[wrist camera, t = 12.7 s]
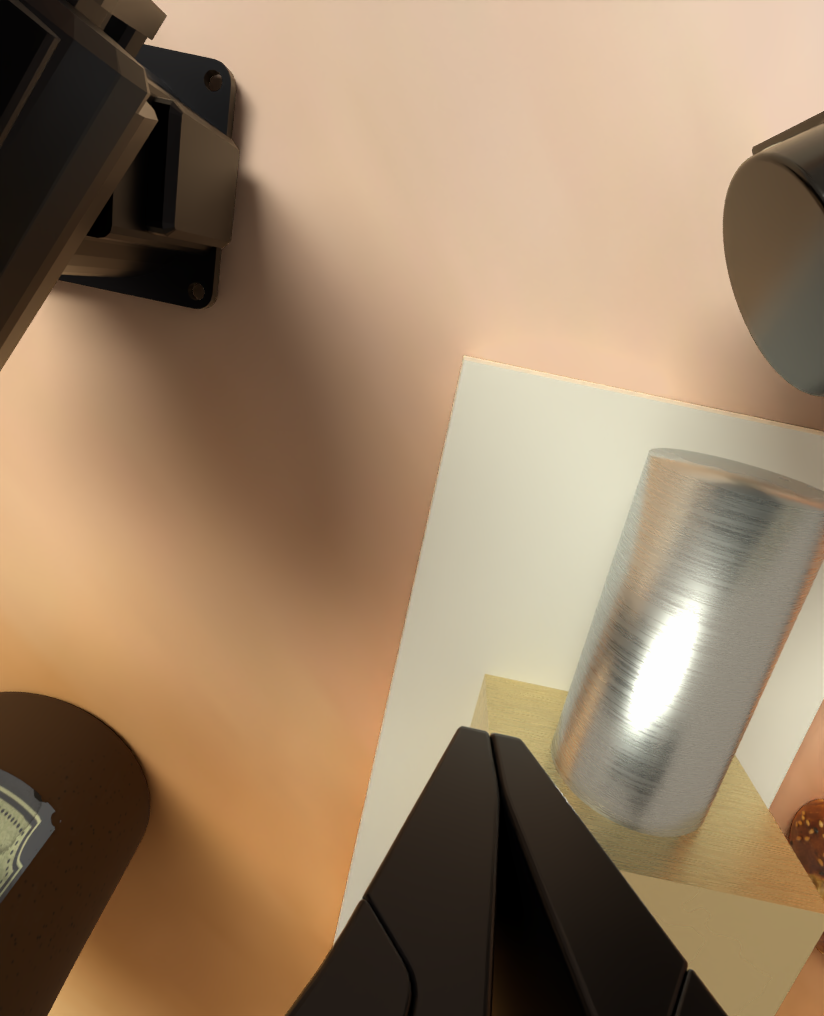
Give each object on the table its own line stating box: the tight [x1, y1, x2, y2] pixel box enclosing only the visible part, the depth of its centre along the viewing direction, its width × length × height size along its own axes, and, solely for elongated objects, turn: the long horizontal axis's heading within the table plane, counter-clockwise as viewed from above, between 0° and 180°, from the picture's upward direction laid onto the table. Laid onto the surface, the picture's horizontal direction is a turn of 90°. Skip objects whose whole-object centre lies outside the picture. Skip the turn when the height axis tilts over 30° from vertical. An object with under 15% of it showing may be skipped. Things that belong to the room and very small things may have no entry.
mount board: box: [332, 355, 824, 947], centre depth 23 cm, size 14×28×2 cm, turn 169°
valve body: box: [470, 448, 824, 1016], centre depth 19 cm, size 8×26×7 cm, turn 169°
